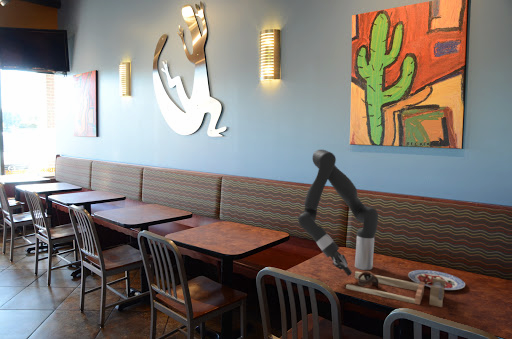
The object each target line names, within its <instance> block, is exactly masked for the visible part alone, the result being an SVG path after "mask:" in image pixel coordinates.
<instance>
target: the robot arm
mask: <svg viewBox="0 0 512 339" xmlns="http://www.w3.org/2000/svg"><path fill="white" fill-rule="evenodd" d="M336 161H337V159H336V155H335V154H334V153H333V152H331V151H328V150H325V149H317V150H316V151H314V152H313V154H312V162H313V164H314V165H315V167H316V168H317V169H318V171H317V175H316V178H315V179H314V180H313V182H312V184H311V185H310V186H309V187H308V188H309V189H308V190H307V193H306V196H305V199H304V202H303V203H304V205H303V206H304V209H303V210H304V211H303V213H300V214H299V215H298V218H297V221H298V224H299V226H300V227H301V228H302V229H303V230H304V231H305V232H306V233H307V234H309V235H310V236H311V238H312V239H313V240H314V242H315V243H316V245H317V247H319V248H320V250H321V251H322V253H323V255H325V256H326V257H327V258H330V259H331V260H332V265H333V266H335V267H336V268H338V269H339V270H340V271H342V270H343V272H345V273H346V275H347V276H348V277H349V276H351V275H352V274H353V271H352V270H351V269H350V268H349V266H348V264H349V263H348V261H347V258H346V257H345V254H341V252H339V250H340V248H339V245H338V244H336V242H335V241H334V239H333V238H332V237H331V236H330V235H329V234H328V233H327V232H326V231H325V229H324V228H323V227H322V225H321V226H320V225H318V224H317V223H316V222H315V221H316V218H317V212H318V207H319V204H320V201H321V198H322V195H323V191H324V188H325V187H326V184H327V182H329V183H330V185H331V186H332V187H333V189H334V190H335V192H336V193H337V194H338V196H339V197H340V198H341V199H342V200H343V202H344V203H345V204H346V205H347V207H348V208H349V209H350V211H351V212H352V214H353V217H354V218H355V219H356V220H357V221H358V222H359V223H361V224H363V226H362V228H360V229H358V230H357V232H356V241H355V242H356V245H355V258H354V259H355V260H354V267H355V268H356V269H358V270H363V271H369V270H372V269H373V263H374V249H375V236H376V233H377V231H378V230H377V229H378V223H379V213H378V210H377V209H375V208H373V207H370V206H366V205H365V204H364V203H363V202H361V200H360V199H359V197H358V190H357V187H356V185H355V184H354V183H353V182H352V180H351V179H350V178H349V177H348V176H347V175H346V174H345V173H344V172H343V171H341V170H340V169H339V168H338V167H337V166H336Z"/></svg>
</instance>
